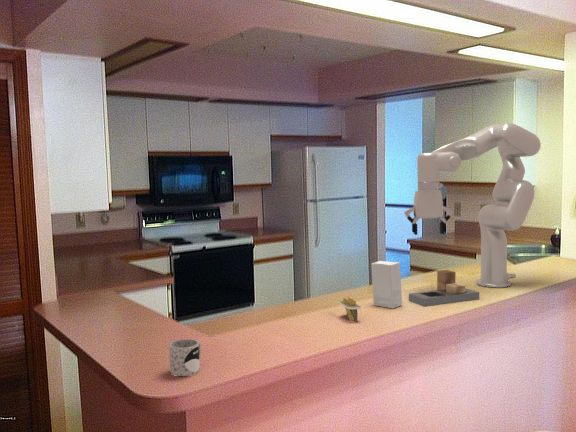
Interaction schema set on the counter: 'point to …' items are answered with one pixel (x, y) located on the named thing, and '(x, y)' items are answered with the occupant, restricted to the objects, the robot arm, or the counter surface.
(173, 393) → the counter surface
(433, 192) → the robot arm
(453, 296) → the grey flat frame
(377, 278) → the skincare box
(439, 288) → the walnut block
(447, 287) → the seated oak block
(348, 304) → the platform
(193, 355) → the mug
